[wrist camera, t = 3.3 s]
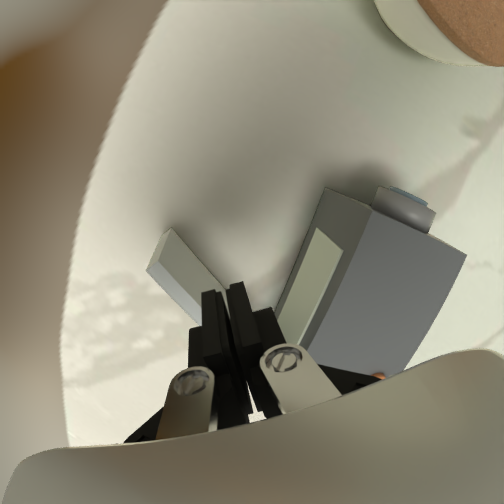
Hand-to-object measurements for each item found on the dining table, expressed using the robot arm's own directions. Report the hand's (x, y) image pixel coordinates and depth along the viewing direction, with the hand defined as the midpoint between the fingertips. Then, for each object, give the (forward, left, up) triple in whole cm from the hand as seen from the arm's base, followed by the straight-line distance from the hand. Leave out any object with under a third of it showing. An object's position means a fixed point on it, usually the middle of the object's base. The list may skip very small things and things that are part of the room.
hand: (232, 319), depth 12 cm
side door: (+3, 0, -9) cm, 9 cm away
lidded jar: (-22, +7, -9) cm, 25 cm away
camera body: (0, +9, -9) cm, 13 cm away
